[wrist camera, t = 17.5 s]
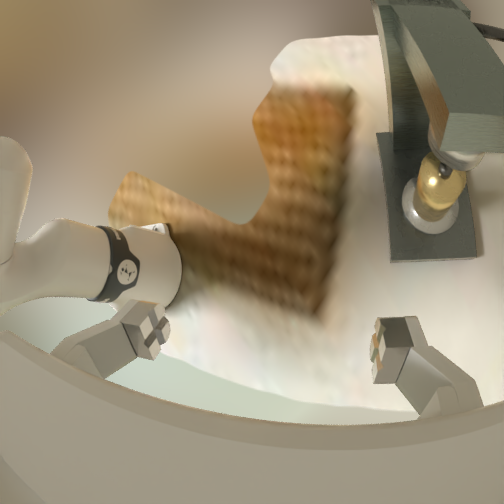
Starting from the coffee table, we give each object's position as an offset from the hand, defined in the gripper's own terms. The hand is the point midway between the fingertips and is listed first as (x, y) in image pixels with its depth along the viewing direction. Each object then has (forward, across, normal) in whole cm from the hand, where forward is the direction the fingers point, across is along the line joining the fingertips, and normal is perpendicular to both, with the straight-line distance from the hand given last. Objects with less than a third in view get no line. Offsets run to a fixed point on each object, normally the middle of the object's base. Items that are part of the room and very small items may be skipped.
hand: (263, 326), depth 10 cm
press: (+27, -21, +1) cm, 34 cm away
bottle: (+25, -17, +2) cm, 30 cm away
